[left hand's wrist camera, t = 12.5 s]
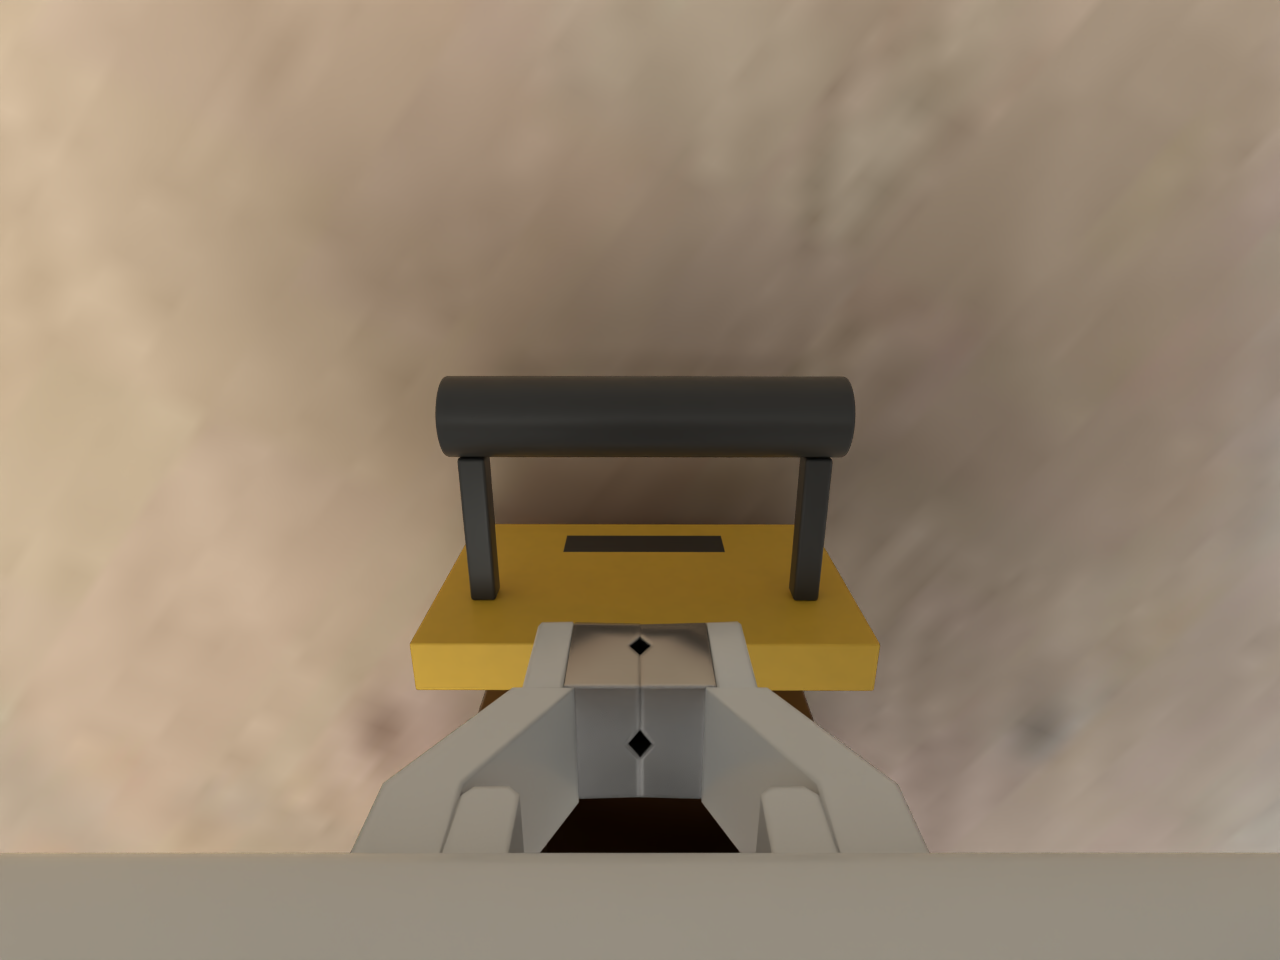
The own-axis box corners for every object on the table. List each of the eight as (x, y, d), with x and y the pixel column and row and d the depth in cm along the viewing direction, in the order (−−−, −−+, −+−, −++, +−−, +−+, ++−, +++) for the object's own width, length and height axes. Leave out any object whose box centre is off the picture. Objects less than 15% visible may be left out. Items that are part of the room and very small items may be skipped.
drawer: (459, 345, 18) (374, 399, 12) (828, 345, 18) (916, 400, 12) (513, 931, 26) (476, 1133, 20) (771, 932, 26) (809, 1135, 20)
